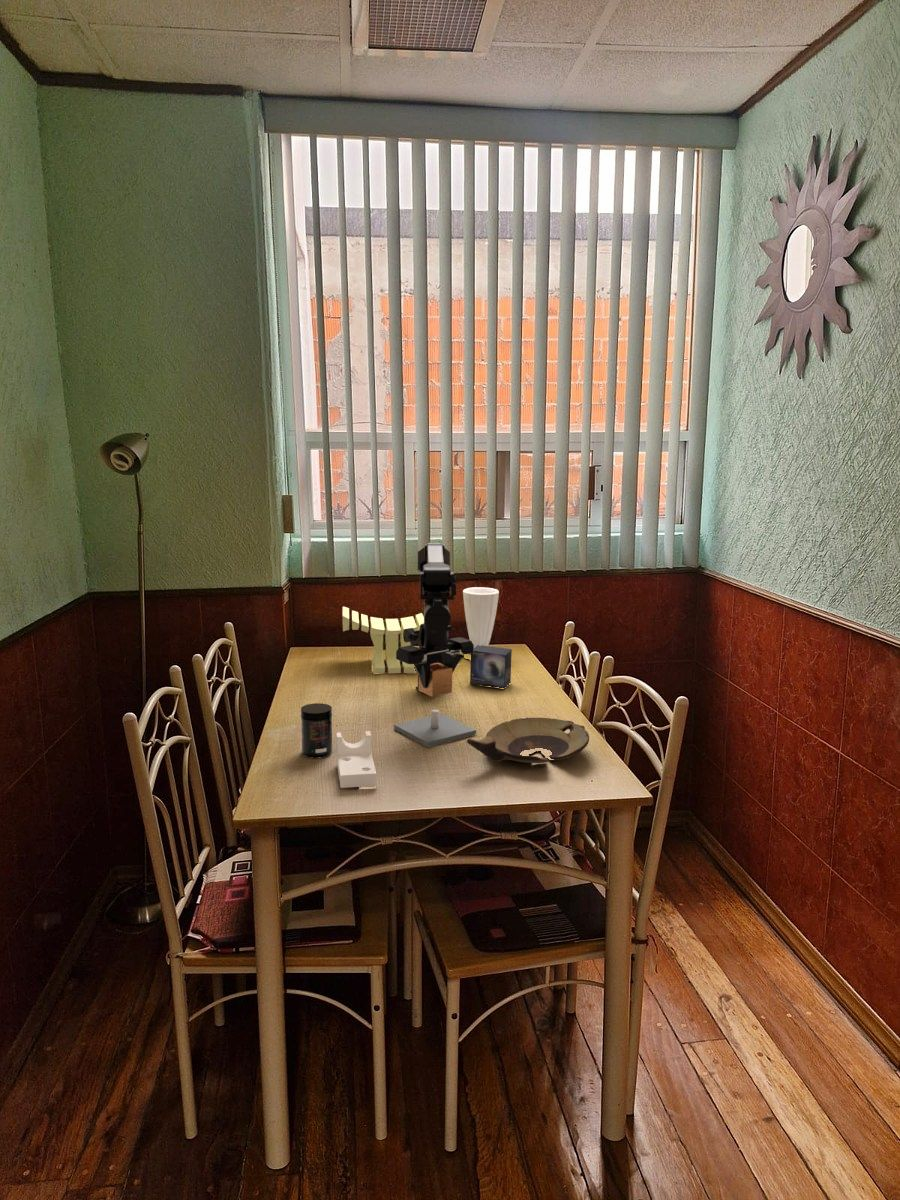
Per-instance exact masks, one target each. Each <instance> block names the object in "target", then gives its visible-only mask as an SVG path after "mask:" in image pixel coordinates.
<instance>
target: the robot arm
mask: <svg viewBox="0 0 900 1200" xmlns="http://www.w3.org/2000/svg"><path fill="white" fill-rule="evenodd" d="M416 561H417V568H416V569H417V572H419V600H420V601H421V600H423V617H424V624H421V625H420V630H418V631H414V629H413V628H407V629H404V632H403V638H404V641H405V642H410V646H404V647H399V648H398V649H397V651H396V659H398V660H399V661H400V662H401V661H402V662H405V663H407V664H414V666H415V670H416V673H417V686H415V689H416V690H418V691H419V677H420V680H421V683H422V686H423V687H424V688H427V685H428V680H429V672H430V664H433V663H441V664H443V665H446V666H448V667H451V668H452V675H453V674H454V672H455V670H456V668H457V667H458V665H459V663H460V662H461V660H462V659H464V655H463V654H470V653H474V645H473V643H472V641H470V639H467V638H464V637H461V636H459V637H458V636H457V637H452V638H449V632H450V631H452V629H453V628H452V627H453V626H452V625H450V624H451V619H452V617H451V616H452V615H451V612H450V607H449V605H450V604H449V602H450V601H454V600H455V596H457V578H456V576H455V573H454V572H453V571H452V572H451V552H450V551H449V550H448V549H447V548H446V547H445V543H442V542H427V543H424V546H423V547H422V548H421V549H420V550H418V551H417V560H416ZM416 645H417V646H418V647H417V646H416Z"/></svg>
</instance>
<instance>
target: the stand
mask: <svg viewBox="0 0 900 1200" xmlns="http://www.w3.org/2000/svg"><path fill="white" fill-rule="evenodd" d="M394 729H395V731H396V730H397V732H398V731H399V732H398V733H400V732H401V733H400V734H402V735H404V736H405V735H406V736H405V737H407V736H408V737H407V738H409V737H410V738H409V739H411V740H413V741H415V742H417V743H418V742H419V744H421V746H424V745H425V746H424V747H426V748H430V747H429V746H431V747H434V745H435V746H438V745H437V744H439V745H442V743H443V744H446V742H447V743H450V742H454V741H458V740H461V739H460V738H462V739H465V738H464V737H466V738H469V737H468V736H470V737H473V736H472V735H474V736H476V735H477V729H475V728H472V727H471V726H468V725H466V724H465V723H462V722H460V721H458V720H456V719H454V718H452V717H450V716H448V715H446V714H443V713H440V710H438V709H432V710H430V716H425V717H421V718H416V719H412V720H407V721H403V722H398V723H395V724H393V730H394ZM475 734H476V735H475ZM457 739H458V740H457ZM453 740H454V741H453ZM449 741H450V742H449Z"/></svg>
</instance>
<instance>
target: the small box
mask: <svg viewBox="0 0 900 1200" xmlns="http://www.w3.org/2000/svg"><path fill="white" fill-rule="evenodd" d="M512 652H513V649H512V648H507V647H497V646H490V645H488V646H483V645H477V646H476V647H475V648H474V653H471V661H470V666H469V667H470V670H469V672H470V673H469V674H470V675H469V684H473V685H472V686H476V685H482V686H481V687H483V686H491V687H499V688H505V687H506V686H507V685H509V683H511V682H512V681H511V679H512ZM509 686H510V685H509Z"/></svg>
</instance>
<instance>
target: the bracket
mask: <svg viewBox="0 0 900 1200" xmlns="http://www.w3.org/2000/svg"><path fill="white" fill-rule="evenodd" d="M371 733H372V732H371V731H370V730H365V733H364V736H363V738H362V739H360V741H357V742H355V743H354V742H353V743H352V742H351V743H350V742H347V741H346V740H345V739H344V738H343V736H342V732H336V733H335V734H336V765H337V773H338V774H337V775H338V779H339V785H340V788H341V789H343V788H347V789H348V788H358V787H359V788H361V787H374V786H377V778H378V777H377V773H378V772H377V771H376V765H375V762H374V759H373V755H372V734H371Z"/></svg>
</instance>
